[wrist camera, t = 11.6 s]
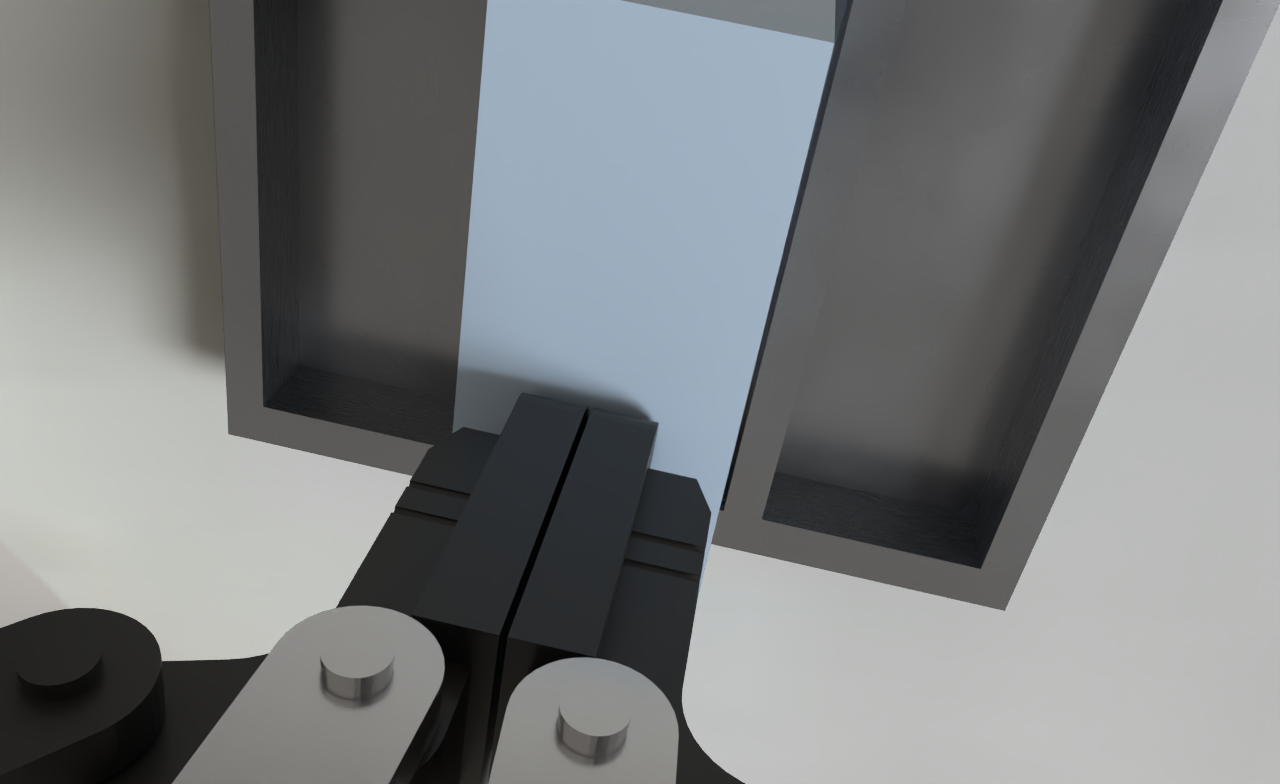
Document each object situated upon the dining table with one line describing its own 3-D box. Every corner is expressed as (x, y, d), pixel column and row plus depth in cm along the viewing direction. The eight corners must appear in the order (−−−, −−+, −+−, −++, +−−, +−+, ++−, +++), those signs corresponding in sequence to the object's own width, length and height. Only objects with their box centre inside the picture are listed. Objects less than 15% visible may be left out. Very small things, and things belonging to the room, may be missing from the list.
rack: (269, -273, 17) (177, -275, 14) (1252, -81, 16) (1321, -51, 14) (278, 376, 23) (216, 448, 20) (990, 536, 22) (1008, 629, 20)
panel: (637, -125, 16) (489, -25, 9) (837, -86, 16) (834, 42, 9) (563, 388, 21) (430, 700, 14) (718, 422, 21) (658, 753, 14)
